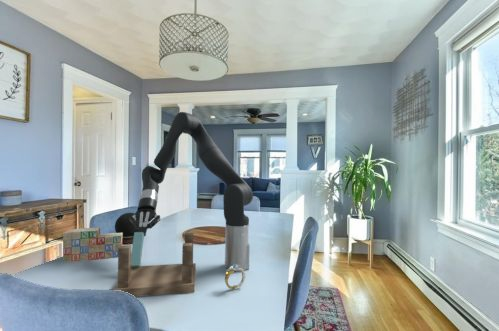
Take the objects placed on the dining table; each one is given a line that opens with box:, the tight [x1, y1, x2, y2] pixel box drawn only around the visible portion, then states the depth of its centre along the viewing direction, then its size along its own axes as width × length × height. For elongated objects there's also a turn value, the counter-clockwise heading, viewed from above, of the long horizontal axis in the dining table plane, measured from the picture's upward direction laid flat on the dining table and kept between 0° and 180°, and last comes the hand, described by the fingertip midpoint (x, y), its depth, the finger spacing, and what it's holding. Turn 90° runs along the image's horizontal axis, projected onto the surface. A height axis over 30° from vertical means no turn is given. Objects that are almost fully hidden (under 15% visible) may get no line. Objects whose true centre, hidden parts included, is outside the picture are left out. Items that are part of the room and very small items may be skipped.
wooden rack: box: [112, 232, 197, 297], centre depth 88 cm, size 24×18×14 cm
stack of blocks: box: [62, 226, 123, 263], centre depth 111 cm, size 21×6×12 cm, turn 109°
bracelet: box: [224, 264, 246, 291], centre depth 84 cm, size 7×3×8 cm, turn 114°
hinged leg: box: [131, 232, 145, 267], centre depth 96 cm, size 3×3×12 cm
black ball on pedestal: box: [114, 212, 140, 246], centre depth 134 cm, size 13×13×15 cm
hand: (141, 236), depth 102 cm, fingers closed
